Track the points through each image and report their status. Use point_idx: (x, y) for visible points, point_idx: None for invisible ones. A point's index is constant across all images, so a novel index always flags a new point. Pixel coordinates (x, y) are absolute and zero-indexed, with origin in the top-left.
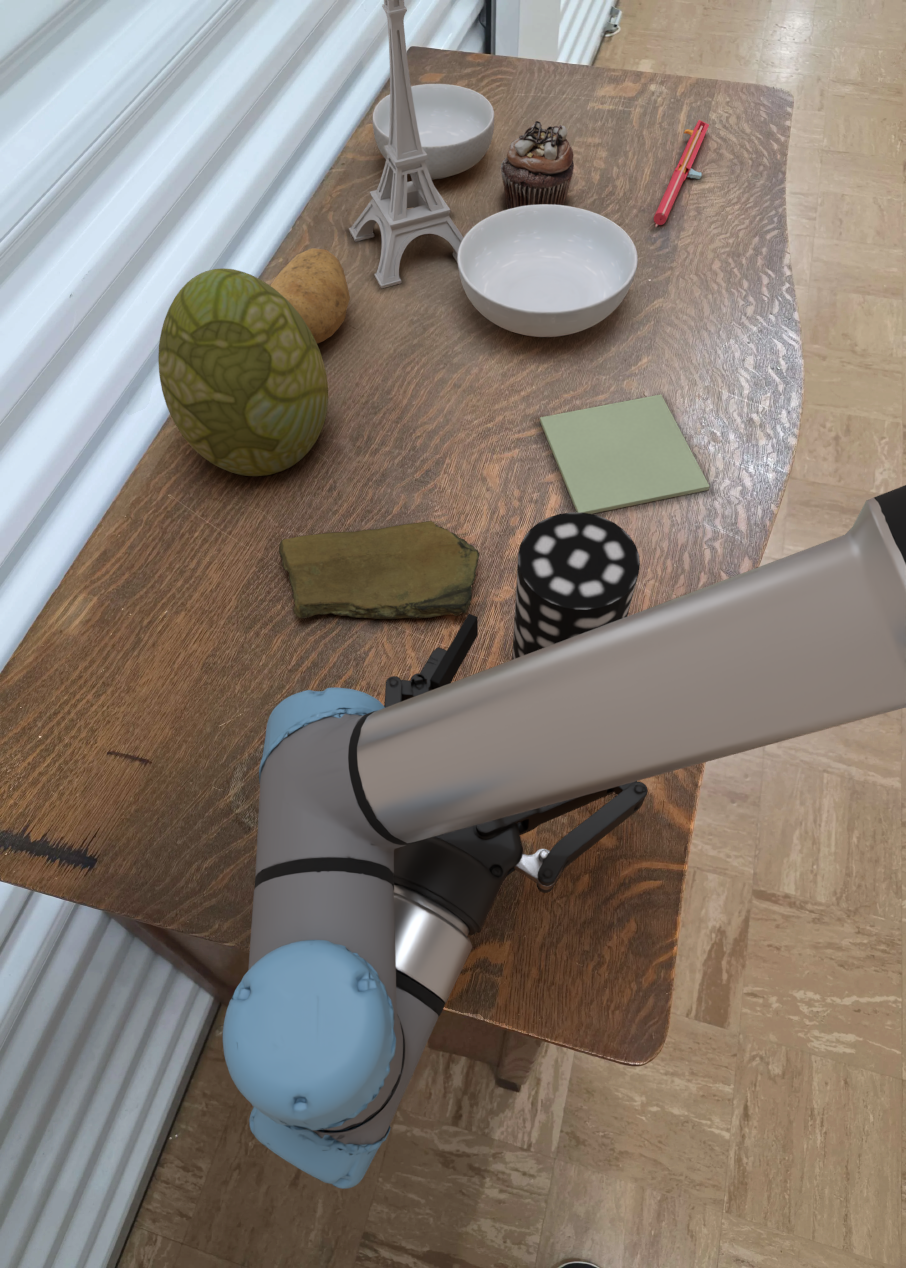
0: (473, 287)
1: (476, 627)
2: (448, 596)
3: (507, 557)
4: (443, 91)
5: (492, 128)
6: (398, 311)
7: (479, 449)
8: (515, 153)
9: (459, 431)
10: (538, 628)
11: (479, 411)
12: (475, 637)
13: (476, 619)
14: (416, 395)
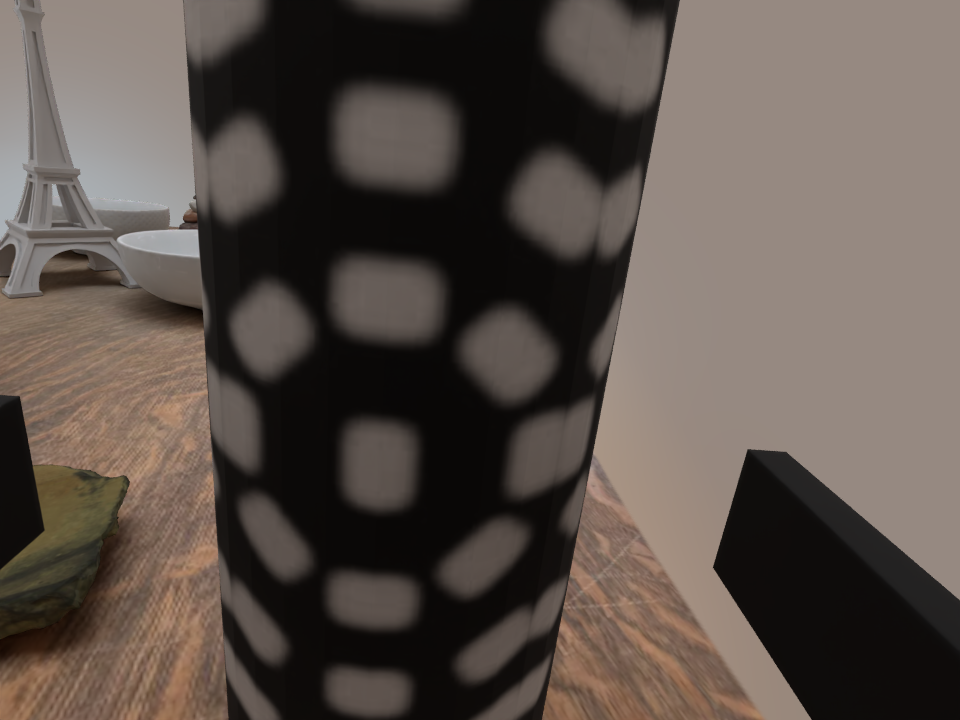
0: (136, 248)
1: (23, 467)
2: (22, 577)
3: (203, 501)
4: (116, 204)
5: (167, 215)
6: (30, 309)
7: (146, 393)
8: (191, 212)
9: (111, 381)
10: (334, 187)
11: (148, 364)
12: (25, 532)
13: (11, 406)
14: (38, 359)
